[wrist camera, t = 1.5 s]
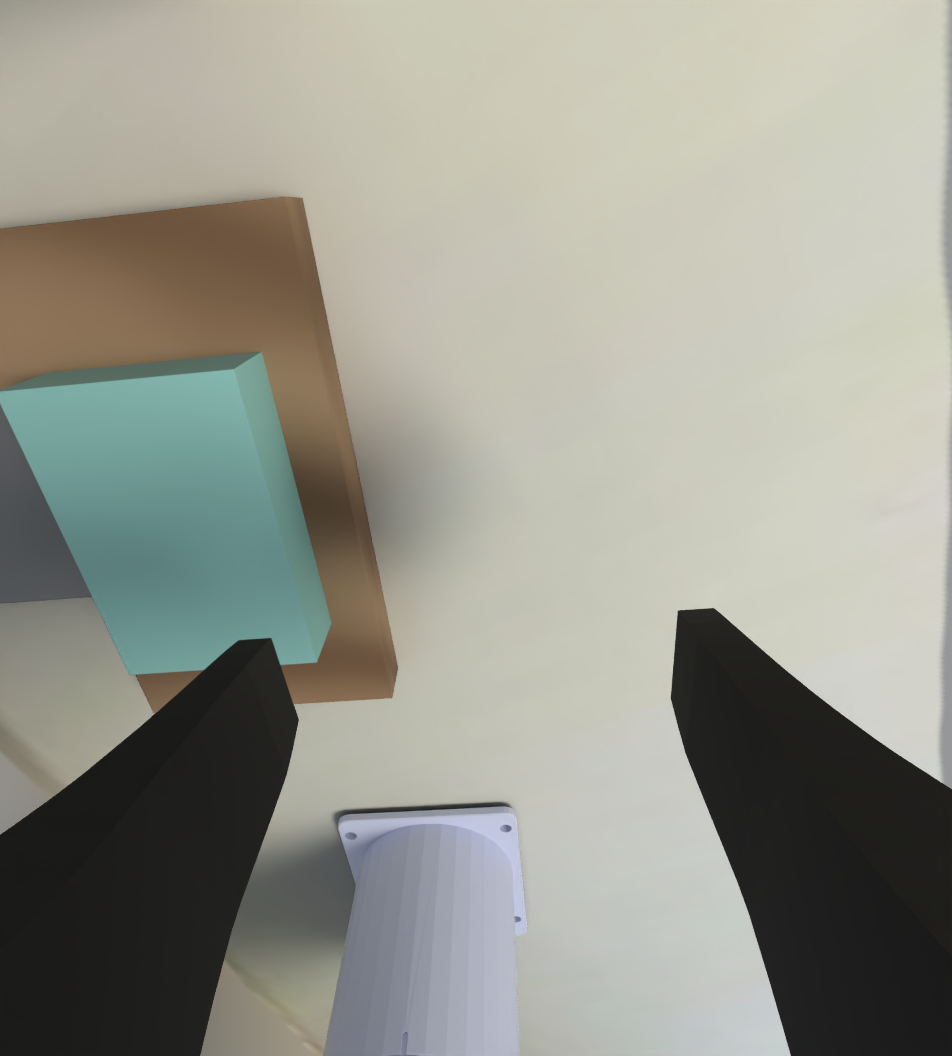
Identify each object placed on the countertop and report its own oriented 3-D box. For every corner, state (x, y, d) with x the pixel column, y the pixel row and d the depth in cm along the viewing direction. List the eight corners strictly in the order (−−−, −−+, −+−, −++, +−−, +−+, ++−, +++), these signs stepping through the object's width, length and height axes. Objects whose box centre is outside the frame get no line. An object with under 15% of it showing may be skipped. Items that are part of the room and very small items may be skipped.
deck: (397, 668, 23) (392, 697, 22) (173, 682, 24) (153, 712, 22) (302, 198, 16) (284, 196, 14) (-23, 234, 16) (-71, 236, 15)
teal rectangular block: (331, 622, 20) (316, 662, 18) (160, 634, 21) (129, 674, 19) (261, 351, 16) (233, 369, 14) (47, 372, 16) (-6, 392, 15)
